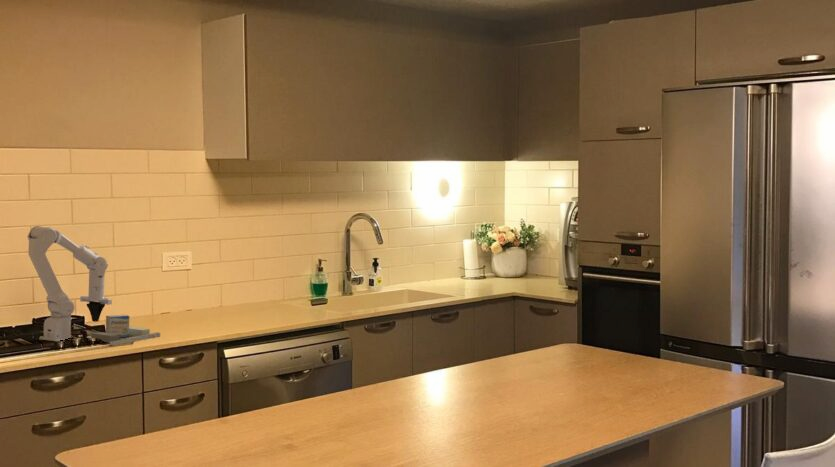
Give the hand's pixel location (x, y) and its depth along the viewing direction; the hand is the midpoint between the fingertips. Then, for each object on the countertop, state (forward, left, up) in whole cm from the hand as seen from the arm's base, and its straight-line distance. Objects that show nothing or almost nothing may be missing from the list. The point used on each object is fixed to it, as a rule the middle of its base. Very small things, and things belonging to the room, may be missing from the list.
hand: (95, 321), depth 360 cm
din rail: (0, -21, -6) cm, 21 cm away
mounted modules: (0, -13, -6) cm, 14 cm away
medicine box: (+2, -10, -6) cm, 12 cm away
